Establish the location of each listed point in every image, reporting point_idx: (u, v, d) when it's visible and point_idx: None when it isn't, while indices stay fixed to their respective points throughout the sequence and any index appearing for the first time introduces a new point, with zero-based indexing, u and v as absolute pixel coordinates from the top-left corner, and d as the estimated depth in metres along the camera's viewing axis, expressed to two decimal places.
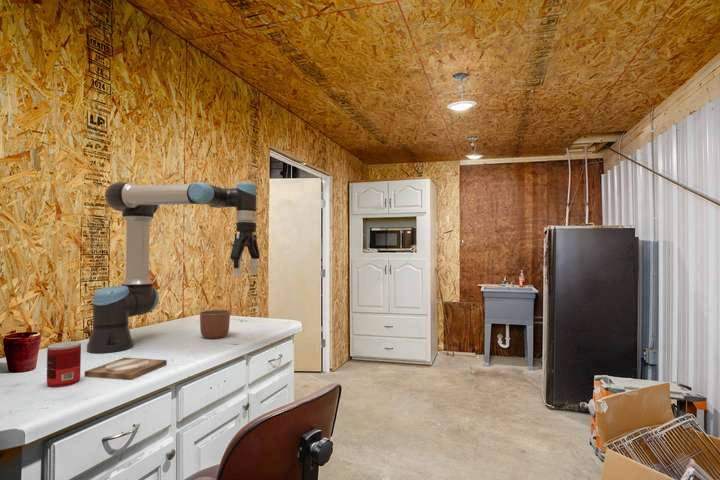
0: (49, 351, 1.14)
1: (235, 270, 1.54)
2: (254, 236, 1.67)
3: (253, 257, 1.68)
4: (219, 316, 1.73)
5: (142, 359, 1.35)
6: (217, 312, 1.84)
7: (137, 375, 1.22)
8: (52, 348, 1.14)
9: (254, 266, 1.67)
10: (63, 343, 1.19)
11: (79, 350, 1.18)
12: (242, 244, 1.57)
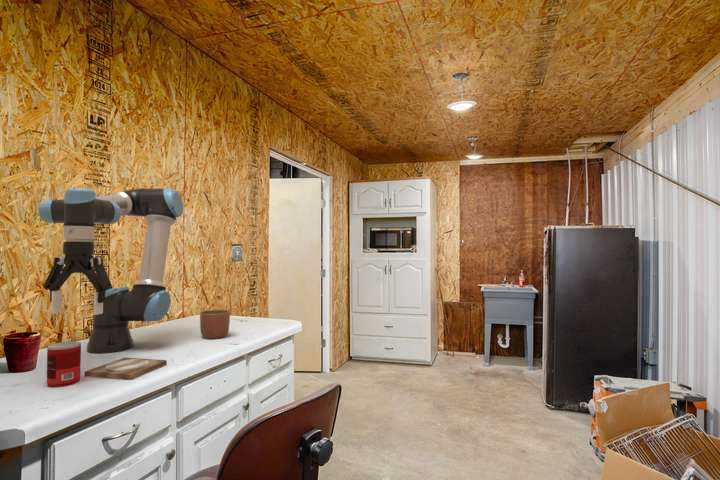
0: (49, 351, 1.14)
1: None
2: None
3: None
4: (219, 316, 1.73)
5: (142, 359, 1.35)
6: (217, 312, 1.84)
7: (137, 375, 1.22)
8: (52, 348, 1.14)
9: None
10: (63, 343, 1.19)
11: (79, 350, 1.18)
12: None
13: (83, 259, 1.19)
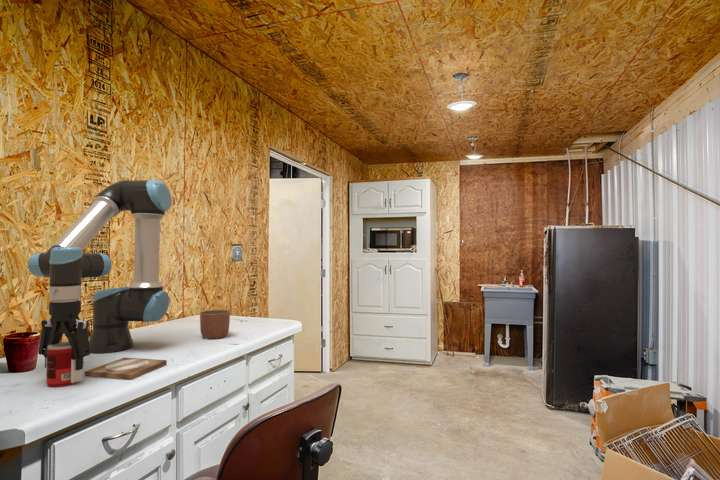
0: (49, 351, 1.14)
1: None
2: None
3: None
4: (219, 316, 1.73)
5: (142, 359, 1.35)
6: (217, 312, 1.84)
7: (137, 375, 1.22)
8: (52, 348, 1.14)
9: None
10: (63, 343, 1.19)
11: None
12: None
13: (69, 319, 1.16)
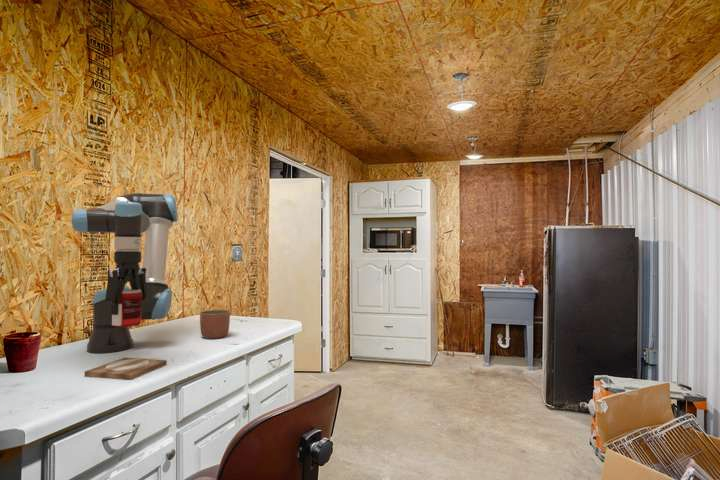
0: (136, 294, 1.28)
1: (114, 317, 1.25)
2: (142, 269, 1.35)
3: None
4: (219, 316, 1.73)
5: (142, 359, 1.35)
6: (217, 312, 1.84)
7: (137, 375, 1.22)
8: (138, 291, 1.29)
9: None
10: None
11: None
12: (121, 282, 1.26)
13: (137, 266, 1.32)
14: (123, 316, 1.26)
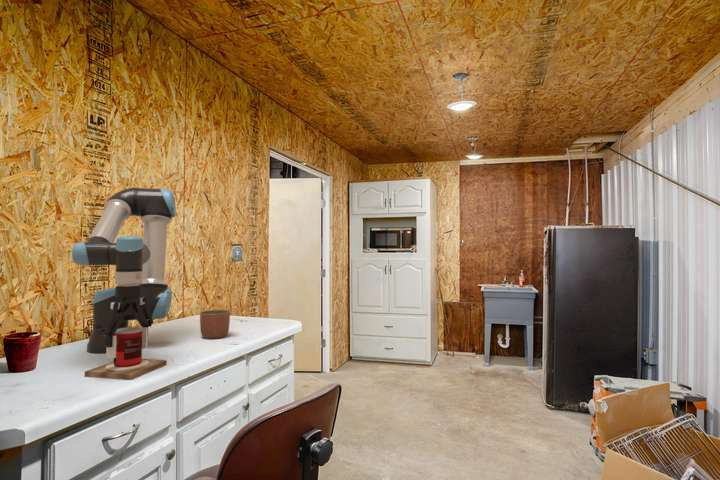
0: (137, 334, 1.28)
1: (108, 350, 1.23)
2: (143, 300, 1.35)
3: (143, 325, 1.37)
4: (219, 316, 1.73)
5: (142, 359, 1.35)
6: (217, 312, 1.84)
7: (137, 375, 1.22)
8: (139, 330, 1.29)
9: (144, 337, 1.36)
10: (118, 331, 1.28)
11: None
12: (120, 315, 1.25)
13: (137, 300, 1.32)
14: (124, 356, 1.26)
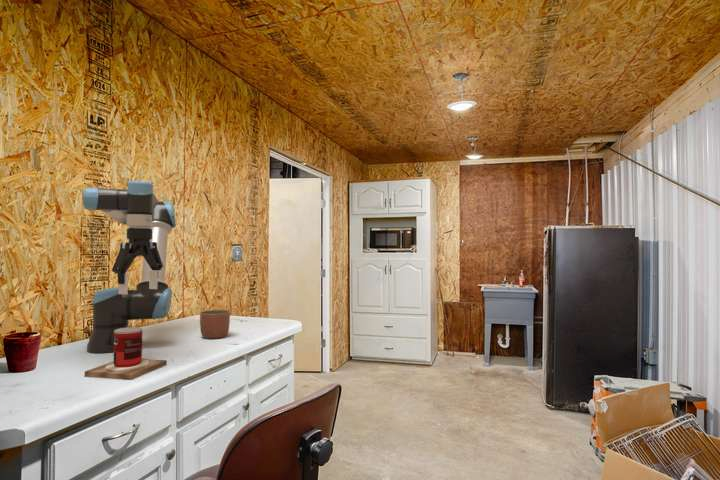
0: (137, 334, 1.28)
1: (120, 287, 1.29)
2: (153, 244, 1.41)
3: (153, 268, 1.43)
4: (219, 316, 1.73)
5: (142, 359, 1.35)
6: (217, 312, 1.84)
7: (137, 375, 1.22)
8: (139, 330, 1.29)
9: (154, 279, 1.42)
10: (118, 331, 1.28)
11: None
12: (131, 255, 1.32)
13: (147, 243, 1.38)
14: (124, 356, 1.26)
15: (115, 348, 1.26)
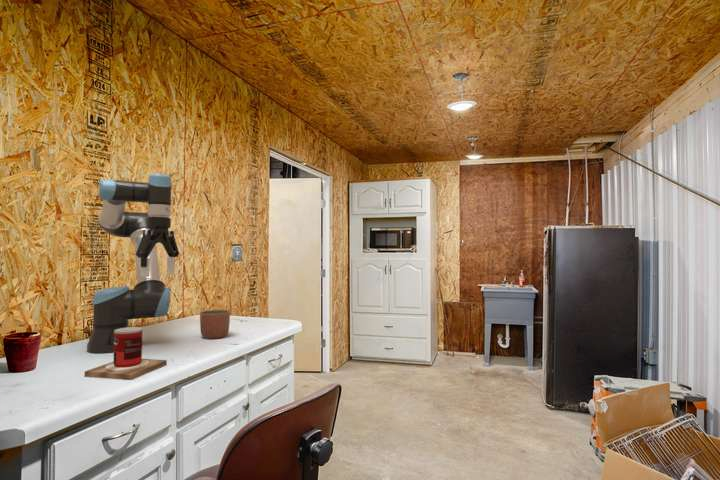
0: (137, 334, 1.28)
1: (143, 270, 1.41)
2: (171, 232, 1.54)
3: (171, 255, 1.55)
4: (219, 316, 1.73)
5: (142, 359, 1.35)
6: (217, 312, 1.84)
7: (137, 375, 1.22)
8: (139, 330, 1.29)
9: (171, 265, 1.54)
10: (118, 331, 1.28)
11: None
12: (152, 241, 1.44)
13: (166, 232, 1.51)
14: (124, 356, 1.26)
15: (115, 348, 1.26)
